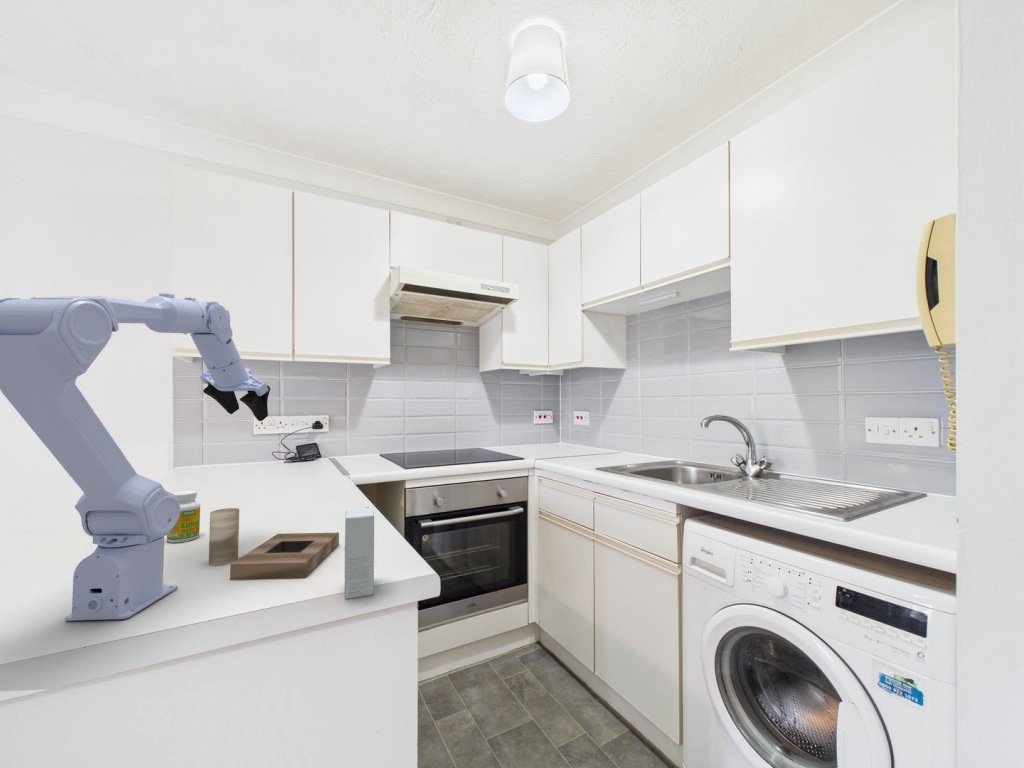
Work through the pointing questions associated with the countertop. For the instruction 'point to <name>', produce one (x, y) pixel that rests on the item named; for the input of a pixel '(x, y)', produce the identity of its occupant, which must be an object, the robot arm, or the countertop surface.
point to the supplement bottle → (186, 518)
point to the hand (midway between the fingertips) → (248, 414)
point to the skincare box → (359, 552)
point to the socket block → (285, 556)
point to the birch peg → (223, 536)
